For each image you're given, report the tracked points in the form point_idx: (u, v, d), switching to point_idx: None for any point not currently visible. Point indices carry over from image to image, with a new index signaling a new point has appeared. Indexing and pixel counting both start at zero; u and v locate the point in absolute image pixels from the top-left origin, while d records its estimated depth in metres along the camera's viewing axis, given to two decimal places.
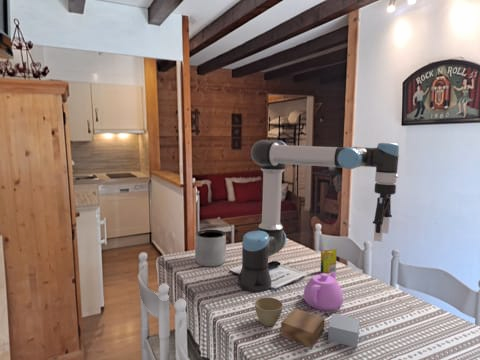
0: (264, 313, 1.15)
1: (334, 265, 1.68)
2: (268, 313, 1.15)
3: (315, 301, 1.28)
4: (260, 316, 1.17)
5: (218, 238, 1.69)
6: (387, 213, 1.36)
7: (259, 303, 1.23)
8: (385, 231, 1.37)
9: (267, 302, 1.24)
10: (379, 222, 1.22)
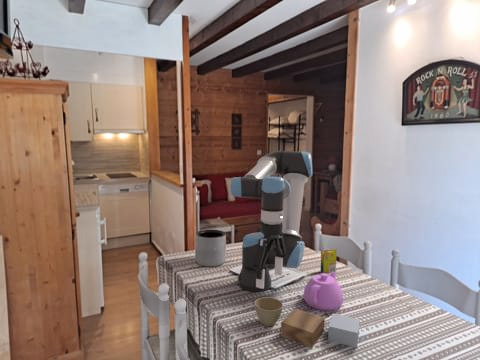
0: (264, 313, 1.15)
1: (334, 265, 1.68)
2: (268, 312, 1.15)
3: (315, 301, 1.28)
4: (260, 316, 1.17)
5: (218, 238, 1.69)
6: (279, 253, 1.22)
7: (259, 303, 1.23)
8: (278, 273, 1.23)
9: (267, 302, 1.24)
10: (257, 268, 1.09)
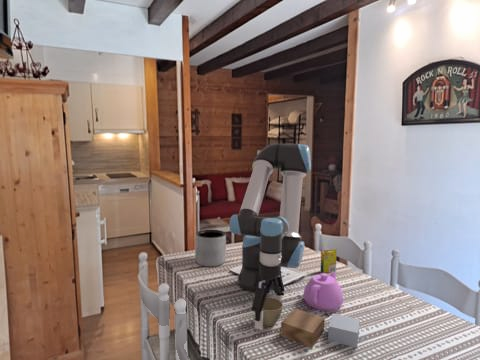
0: (264, 313, 1.15)
1: (334, 265, 1.68)
2: (268, 313, 1.15)
3: (315, 301, 1.28)
4: None
5: (218, 238, 1.69)
6: (278, 292, 1.24)
7: None
8: None
9: (267, 302, 1.24)
10: (256, 311, 1.11)
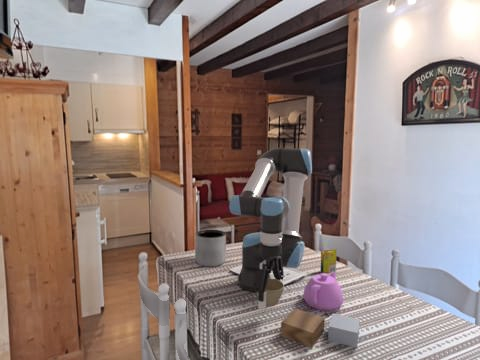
0: None
1: (334, 265, 1.68)
2: (269, 293, 1.15)
3: (315, 301, 1.28)
4: None
5: (218, 238, 1.69)
6: (277, 275, 1.22)
7: None
8: None
9: (268, 283, 1.24)
10: (259, 291, 1.12)
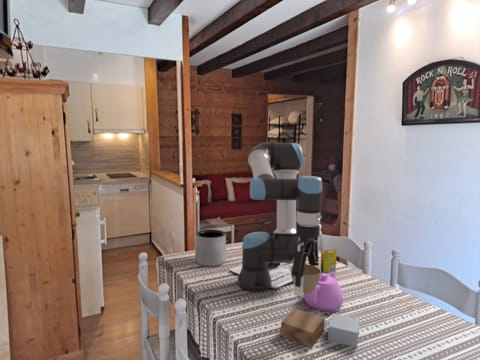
0: None
1: (334, 265, 1.68)
2: (306, 278, 1.06)
3: (315, 301, 1.28)
4: None
5: (218, 238, 1.69)
6: (313, 260, 1.14)
7: None
8: None
9: None
10: (297, 275, 1.03)
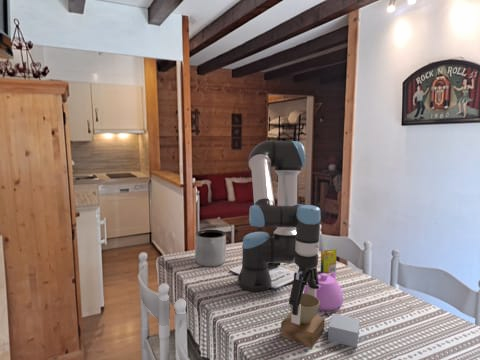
0: (301, 310, 1.08)
1: (334, 265, 1.68)
2: (305, 309, 1.08)
3: None
4: None
5: (218, 238, 1.69)
6: (313, 284, 1.16)
7: None
8: None
9: (301, 298, 1.17)
10: (294, 304, 1.03)
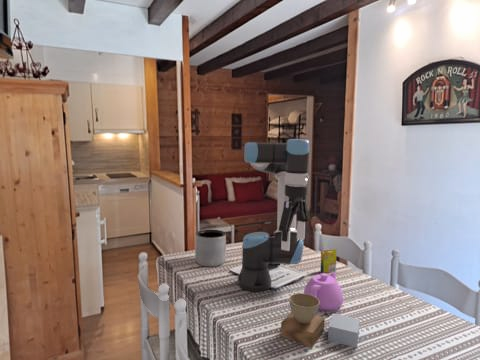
0: (301, 310, 1.08)
1: (334, 265, 1.68)
2: (305, 309, 1.08)
3: None
4: (296, 313, 1.10)
5: (218, 238, 1.69)
6: (302, 217, 1.22)
7: (293, 299, 1.16)
8: (301, 237, 1.23)
9: (301, 298, 1.17)
10: (284, 230, 1.08)
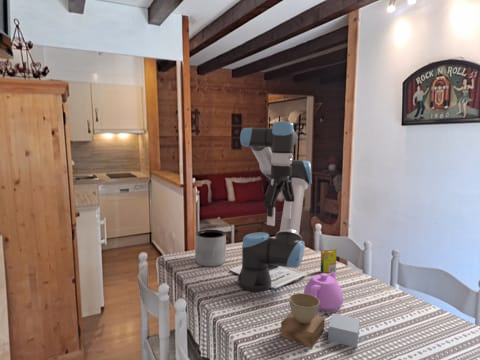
0: (301, 310, 1.08)
1: (334, 265, 1.68)
2: (305, 309, 1.08)
3: None
4: (296, 313, 1.10)
5: (218, 238, 1.69)
6: (288, 197, 1.29)
7: (293, 299, 1.16)
8: (287, 216, 1.31)
9: (301, 298, 1.17)
10: (268, 205, 1.16)
